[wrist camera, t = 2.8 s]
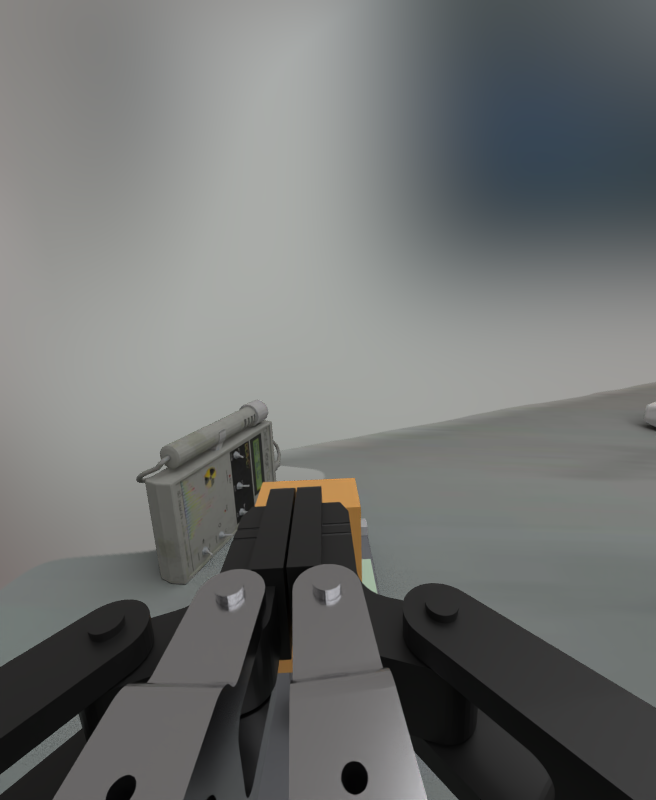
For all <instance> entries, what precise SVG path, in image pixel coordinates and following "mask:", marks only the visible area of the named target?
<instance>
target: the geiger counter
mask: <svg viewBox="0 0 656 800" xmlns="http://www.w3.org/2000/svg"><path fill="white" fill-rule="evenodd" d="M267 415H268V408H267V406H266V405H265V403H263V402H262V401H260V400H254V401H252V402H250V403H248V404H245V405H243V406H242V407H241V408H240V410H239V411H237V412H235V413H232V414H230V415H228V416H226V417H224V418H222V419H220V420H218V421H216V422H214V423H212V424H210V425H208V426H205V427H203V428H201V429H199V430H197V431H195V432H193V433H191V434H189V435H187V436H185V437H183V438H181V439H179V440H176V441H174V442H172V443H170V444H168V445H166V446H164V447H162V449H161V451H160V457H161V461H160V462H159V463H158V464H157V465H156V466H155V467H153V468H151V469H149V470H146V471H144V472H142V473H141V474H140V475H138V477H137V479H136V480H137V482H139V483H145V484H146V490H147V496H148V502H149V508H150V514H151V520H152V526H153V532H154V538H155V544H156V550H157V556H158V562H159V568H160V574H161V578H162V579H164V580H166V581H168V582H170V583H173V584H187V583H188V582H189V581H190V580H191V579H192V578H193V577H194V576H195V575H196V574H197V573H198V572H199V570H200V569H201V568H202V567H203V566H204V565H205V564H206V563H207V562H208V561H209V560H210V559H211V558H212V557H213V556H214V555H215V554H216V553H217V552H218V551H219V550H220V549H221V548H222V547H223V546H224V545H225V544H226V543H227V542H228V541H229V540H230V539H231V538H232V537H233V536H234V535H235V533H236V531H237V528H238V525H239V523H240V520H241V517H242V516H243V515H244V514H245V513H246V512H248V511H249V510H250V509H251V508H252V507H255V504H256V501H257V498H258V495H259V492H260V489H261V486H262V483H263V482H276V475H275V471H276V470H277V468H278V467H279V466H280V463H279V462H280V456H281V454H280V450H279V447H278V445H277V444H276V443H275V442H274V441H273V433H272V422H271V421H266V420H265V419H266V418H267ZM273 444H274V445H275V447H276V450H277V453H278V458H277V461H274V448H273ZM164 464H165V465H166V466H167V467H168V468H166V469H164V470H162V471H161V472H159V473H157V474H155V475H154V476H152V477H149V478H144V479H143V477H144V476H146V475H148V474H150V473H153V472H155V471H157V470H159V469H160V468H161V467H162V466H163V465H164Z"/></svg>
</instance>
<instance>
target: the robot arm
mask: <svg viewBox="0 0 656 800" xmlns="http://www.w3.org/2000/svg"><path fill="white" fill-rule="evenodd" d="M233 539H234V540H233V541H232V543H231V546H230V549H229V551H228V554H227V556H226V559H225V562H224V564H223V567H222V570H221V572H220V574H217V575H215V576H213V577H212V578H210V579H209V580H207V581H206V582H205V583H204V584H203V585H202V586H201V587H200V588H199V590H198V591H197V593H196V595H195V597H194V598H193V600H192V602H191V604H190V605H189V606H187V607H185V608H182V609H179V610H176V611H173V612H170V613H167V614H163V615H160V616H157V617H153V618H151V617H150V611H149V609H148V607H147V606H146V604H144V603H143V602H141V601H138V600H121V601H116V602H112V603H109V604H107V605H104V606H102V607H100V608H98V609H96V610H94V611H92V612H91V613H89V614H87V615H86V616H84V617H82V618H81V619H79V620H77V621H76V622H74V623H72V624H71V625H69V626H67V627H66V628H64V629H62V630H61V631H59V632H57V633H56V634H54V635H52V636H51V637H49V638H48V639H46V640H44V641H43V642H41V643H39V644H38V645H36V646H34V647H33V648H31V649H29V650H28V651H26V652H24V653H23V654H21V655H19V656H18V657H16V658H14V659H13V660H11V661H9V662H8V663H6V664H4V665H3V666H1V667H0V774H1V773H3V772H4V771H5V770H7V769H8V768H9V767H10V766H12V765H13V764H14V763H16V762H17V761H18V760H19V759H21V758H22V757H23V756H25V755H26V754H27V753H28V752H30V751H31V750H32V749H34V748H35V747H36V746H37V745H39V744H40V743H41V742H43V741H44V740H45V739H46V738H48V737H49V736H50V735H52V734H53V733H54V732H55V731H57V730H58V729H59V728H61V727H62V726H63V725H64V724H66V723H67V722H68V721H70V720H71V719H72V718H73V717H75V716H76V715H77V714H79V717H80V721H81V724H82V729H81V730H80V731H78V732H77V733H76V734H75V735H74V736H72V737H71V738H70V739H69V740H67V741H66V742H65V743H64V744H62V745H61V746H60V747H59V748H58V749H56V750H55V751H54V752H53V753H51V754H50V755H49V756H48V757H46V758H45V759H44V760H43V761H42V762H40V763H39V764H38V765H37V766H35V767H34V768H33V769H32V770H30V771H29V772H28V773H27V774H26V775H24V776H23V777H22V778H21V779H19V780H18V781H17V782H16V783H14V784H13V785H12V786H11V787H10V788H8V789H7V790H6V791H5V792H3V793H2V794H1V795H0V800H258V794H259V789H260V783H261V778H262V773H263V767H264V762H265V757H266V751H267V746H268V740H269V735H270V730H271V724H272V719H273V714H274V708H275V703H276V685H275V684H276V681H277V675H278V666H279V660H291V658H292V646H293V680H291V681H290V701H289V800H427V796H426V793H425V789H424V786H423V782H422V779H421V775H420V771H419V768H418V764H417V761H416V757H415V753H416V754H417V755H418V756H419V757H420V758H421V759H422V760H423V761H424V763H425V764H426V765H427V766H428V767H429V768H430V769H431V770H432V771H433V772H434V773H435V774H436V776H437V777H438V778H439V779H440V780H441V781H442V782H443V783H444V784H445V785H446V786H447V788H448V789H449V790H450V791H451V792H452V793H453V794H454V795H455V796H456V797H457V798H458V799H459V800H656V708H655V707H653V706H652V705H650V704H648V703H647V702H645V701H643V700H642V699H640V698H638V697H637V696H635V695H633V694H632V693H630V692H628V691H627V690H625V689H623V688H622V687H620V686H618V685H617V684H615V683H613V682H612V681H610V680H608V679H607V678H605V677H604V676H602V675H600V674H599V673H597V672H595V671H594V670H592V669H590V668H589V667H587V666H585V665H584V664H582V663H580V662H579V661H577V660H575V659H574V658H572V657H570V656H569V655H567V654H565V653H564V652H562V651H560V650H559V649H557V648H555V647H554V646H552V645H550V644H549V643H547V642H545V641H544V640H542V639H540V638H539V637H537V636H535V635H534V634H532V633H530V632H529V631H527V630H526V629H524V628H522V627H521V626H519V625H517V624H516V623H514V622H512V621H511V620H509V619H507V618H506V617H504V616H502V615H501V614H499V613H497V612H496V611H494V610H492V609H491V608H489V607H487V606H486V605H484V604H482V603H481V602H479V601H477V600H476V599H474V598H472V597H471V596H469V595H467V594H466V593H464V592H462V591H460V590H459V589H457V588H454V587H452V586H448V585H444V584H438V583H430V584H423V585H419V586H417V587H415V588H413V589H412V590H410V591H409V592H408V593H407V595H406V596H405V598H404V601H403V600H398V599H393V598H389V597H385V596H382V595H379V594H377V593H375V592H373V591H371V590H370V589H369V588H367V587H366V586H365V585H364V584H363V583H362V582H361V580H360V578H359V576H358V573H357V568H356V561H355V554H354V547H353V540H352V534H351V526H350V519H349V511H348V510H347V509H346V508H345V507H344V506H343V505H342V504H341V502H328V503H322V488H321V486H313V487H297V491H296V488H278V489H270V492H269V496H268V499H267V503H266V506H258V507H252V508H251V509H250V510H249V511H248V512H246V513H245V514H244V515H243V516H242V517H241V520H240V523H239V525H238V528H237V531H236V533H235V536H234V538H233ZM414 751H415V753H414Z"/></svg>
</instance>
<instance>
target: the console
mask: <svg viewBox="0 0 656 800" xmlns="http://www.w3.org/2000/svg"><path fill="white" fill-rule="evenodd" d="M361 552H362V583H363V584H364V585H365V586H366V587H367V588H369V589H370V590H371V591H373V592H375V593H377V594H379V595H380V593H379V588H378V583H377V578H376V574H375V569H374V564H373V559H372V554H371V550H370V545H369V540H368V535H367V523H366V519H361ZM275 685H276V703H275V708H274V714H273V719H272V724H271V730H270V735H269V740H268V746H267V751H266V757H265V762H264V767H263V773H262V778H261V783H260V789H259V794H258V800H289V701H290V680H289V673H278V675H277V681H276V684H275Z"/></svg>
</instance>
